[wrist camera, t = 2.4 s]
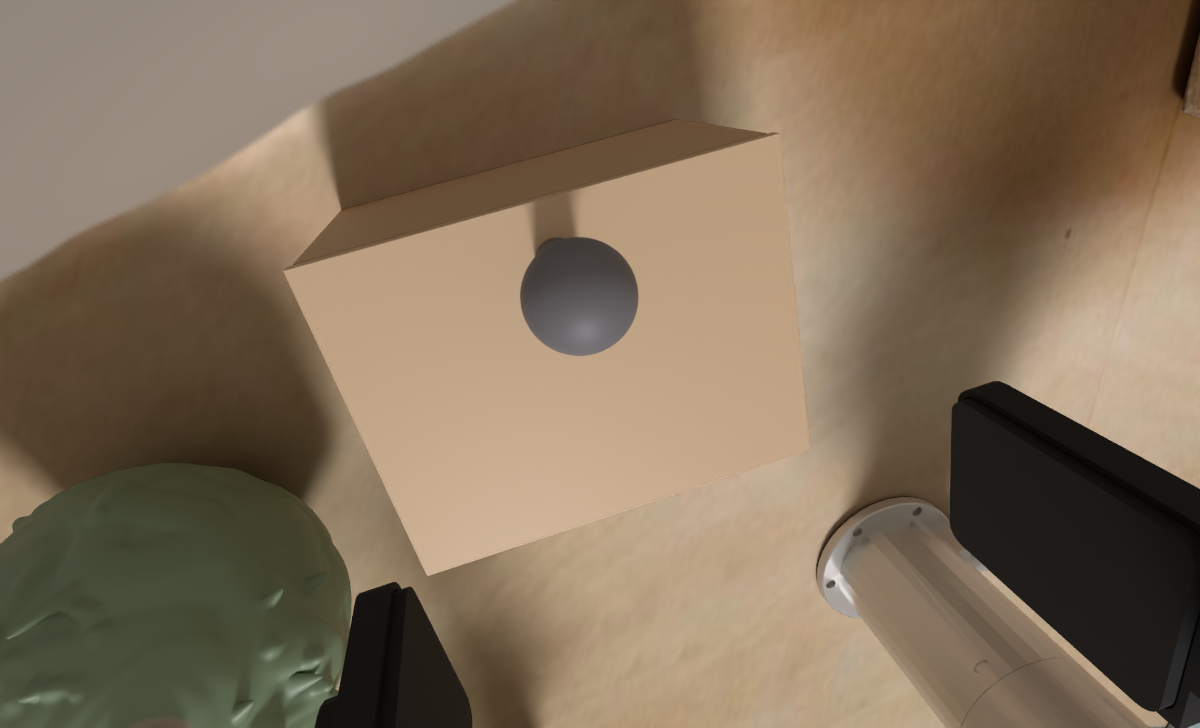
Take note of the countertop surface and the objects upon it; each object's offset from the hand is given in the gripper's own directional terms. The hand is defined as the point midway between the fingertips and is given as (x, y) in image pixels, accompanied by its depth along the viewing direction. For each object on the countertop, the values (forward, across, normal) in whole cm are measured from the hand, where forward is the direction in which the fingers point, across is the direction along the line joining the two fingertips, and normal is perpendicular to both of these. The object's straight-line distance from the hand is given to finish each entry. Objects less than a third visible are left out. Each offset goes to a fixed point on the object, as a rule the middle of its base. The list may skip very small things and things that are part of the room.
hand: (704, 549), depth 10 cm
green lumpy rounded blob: (+31, +24, +14) cm, 41 cm away
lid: (+18, 0, +13) cm, 23 cm away
